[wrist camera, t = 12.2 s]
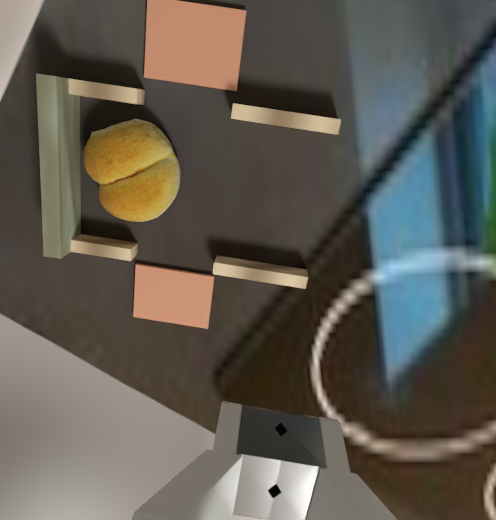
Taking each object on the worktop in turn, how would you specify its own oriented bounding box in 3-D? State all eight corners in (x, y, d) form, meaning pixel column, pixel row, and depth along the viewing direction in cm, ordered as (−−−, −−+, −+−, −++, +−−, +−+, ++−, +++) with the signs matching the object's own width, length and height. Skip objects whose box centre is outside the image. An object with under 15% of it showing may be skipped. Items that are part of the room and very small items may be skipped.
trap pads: (246, 11, 32) (245, 10, 32) (208, 326, 43) (207, 328, 42) (149, -3, 33) (147, -5, 32) (134, 315, 43) (133, 316, 43)
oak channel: (337, 119, 35) (345, 120, 31) (304, 280, 40) (307, 297, 36) (61, 77, 35) (36, 73, 31) (65, 242, 41) (43, 256, 37)
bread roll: (118, 226, 40) (102, 238, 36) (80, 136, 37) (58, 139, 33) (196, 204, 38) (187, 214, 35) (163, 108, 36) (149, 108, 32)
